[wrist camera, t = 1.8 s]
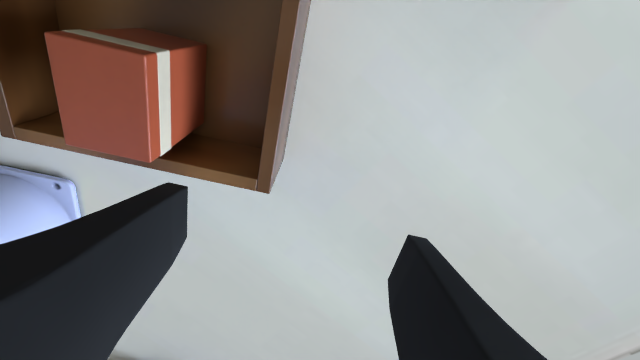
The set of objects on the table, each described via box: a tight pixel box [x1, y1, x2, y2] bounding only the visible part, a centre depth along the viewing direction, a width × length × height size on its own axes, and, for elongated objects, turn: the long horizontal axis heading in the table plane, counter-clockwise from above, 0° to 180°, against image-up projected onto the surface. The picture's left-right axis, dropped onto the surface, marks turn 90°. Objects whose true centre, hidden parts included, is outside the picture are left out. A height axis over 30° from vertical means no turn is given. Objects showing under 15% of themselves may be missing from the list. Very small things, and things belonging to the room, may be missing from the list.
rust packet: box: [44, 28, 207, 163], centre depth 14 cm, size 4×4×6 cm
